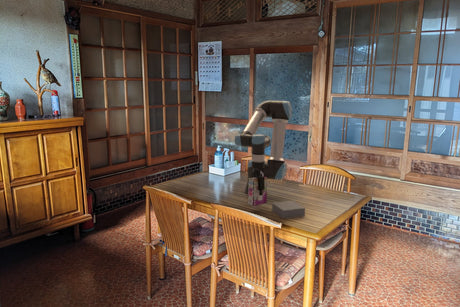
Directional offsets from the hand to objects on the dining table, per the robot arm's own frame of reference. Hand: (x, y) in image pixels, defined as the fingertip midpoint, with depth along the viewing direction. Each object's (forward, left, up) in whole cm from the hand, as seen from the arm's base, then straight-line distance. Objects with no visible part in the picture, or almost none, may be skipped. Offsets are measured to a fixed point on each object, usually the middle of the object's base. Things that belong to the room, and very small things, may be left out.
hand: (257, 198), depth 210 cm
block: (+11, +15, -7) cm, 20 cm away
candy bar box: (0, 0, -4) cm, 4 cm away
